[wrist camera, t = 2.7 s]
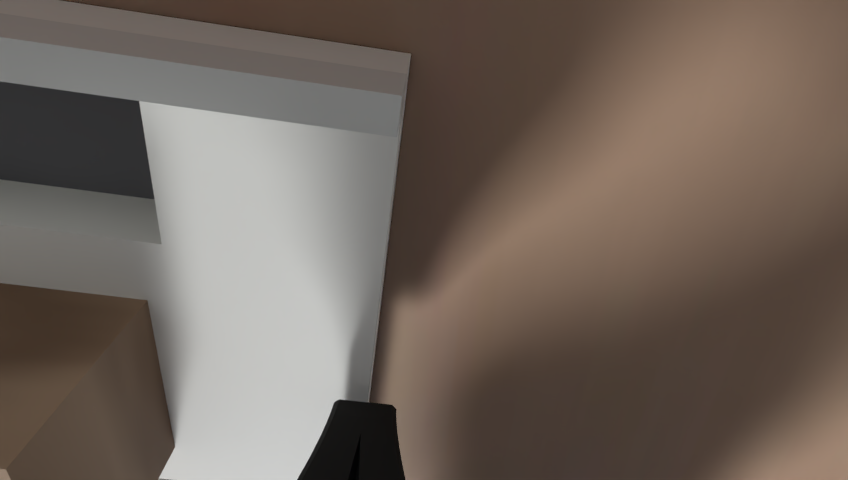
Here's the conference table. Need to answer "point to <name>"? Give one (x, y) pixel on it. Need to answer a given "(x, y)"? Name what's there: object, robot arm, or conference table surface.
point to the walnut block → (79, 388)
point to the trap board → (208, 210)
